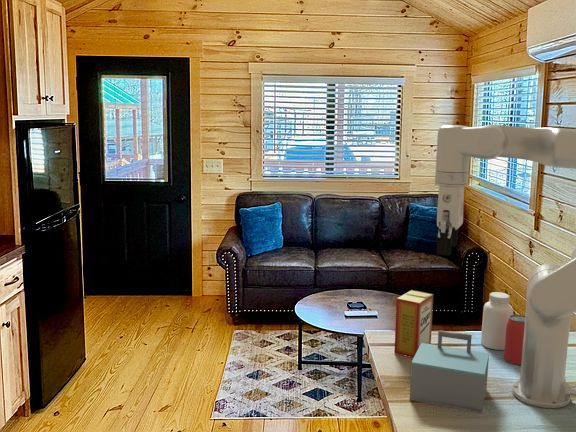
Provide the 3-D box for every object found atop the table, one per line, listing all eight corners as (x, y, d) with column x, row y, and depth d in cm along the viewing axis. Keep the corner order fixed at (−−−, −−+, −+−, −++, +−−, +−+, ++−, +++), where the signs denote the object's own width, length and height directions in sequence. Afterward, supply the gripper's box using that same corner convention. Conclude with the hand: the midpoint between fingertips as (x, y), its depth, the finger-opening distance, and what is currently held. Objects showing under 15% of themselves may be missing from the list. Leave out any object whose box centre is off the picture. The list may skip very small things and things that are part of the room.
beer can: (504, 364, 160) (508, 321, 158) (502, 354, 166) (505, 312, 164) (531, 367, 158) (535, 323, 156) (528, 357, 165) (531, 315, 162)
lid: (489, 355, 144) (490, 336, 143) (484, 376, 133) (485, 355, 132) (421, 345, 150) (422, 326, 149) (411, 364, 139) (412, 344, 138)
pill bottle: (512, 351, 168) (516, 300, 165) (482, 349, 170) (485, 298, 167) (508, 341, 176) (512, 291, 173) (479, 338, 177) (482, 289, 174)
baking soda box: (416, 358, 163) (419, 301, 160) (394, 352, 167) (396, 297, 164) (430, 347, 171) (433, 293, 168) (409, 342, 174) (411, 288, 171)
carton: (486, 390, 145) (488, 356, 144) (481, 413, 134) (484, 377, 133) (419, 378, 151) (421, 345, 150) (409, 399, 140) (411, 364, 139)
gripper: (463, 184, 132) (457, 260, 135) (472, 175, 148) (467, 244, 151) (428, 182, 135) (424, 256, 138) (441, 174, 151) (437, 241, 154)
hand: (446, 250), depth 145 cm, fingers open, 9 cm apart
